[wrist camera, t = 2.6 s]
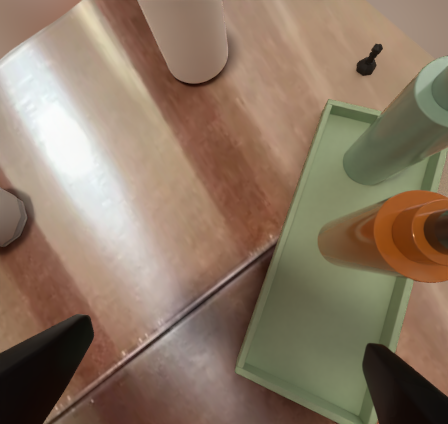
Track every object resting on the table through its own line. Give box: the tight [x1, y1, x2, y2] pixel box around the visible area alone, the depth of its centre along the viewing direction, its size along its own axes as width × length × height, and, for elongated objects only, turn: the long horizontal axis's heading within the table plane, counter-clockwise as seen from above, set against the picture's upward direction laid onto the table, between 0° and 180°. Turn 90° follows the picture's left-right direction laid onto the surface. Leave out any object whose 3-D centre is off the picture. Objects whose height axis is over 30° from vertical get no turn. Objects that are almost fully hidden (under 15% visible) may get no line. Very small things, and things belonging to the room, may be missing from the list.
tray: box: [235, 99, 448, 424], centre depth 22 cm, size 29×12×2 cm, turn 159°
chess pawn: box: [357, 44, 383, 75], centre depth 25 cm, size 2×2×3 cm
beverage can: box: [138, 0, 228, 83], centre depth 24 cm, size 8×8×12 cm
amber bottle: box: [318, 190, 448, 283], centre depth 15 cm, size 5×5×16 cm
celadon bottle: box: [343, 56, 448, 185], centre depth 16 cm, size 5×5×16 cm
